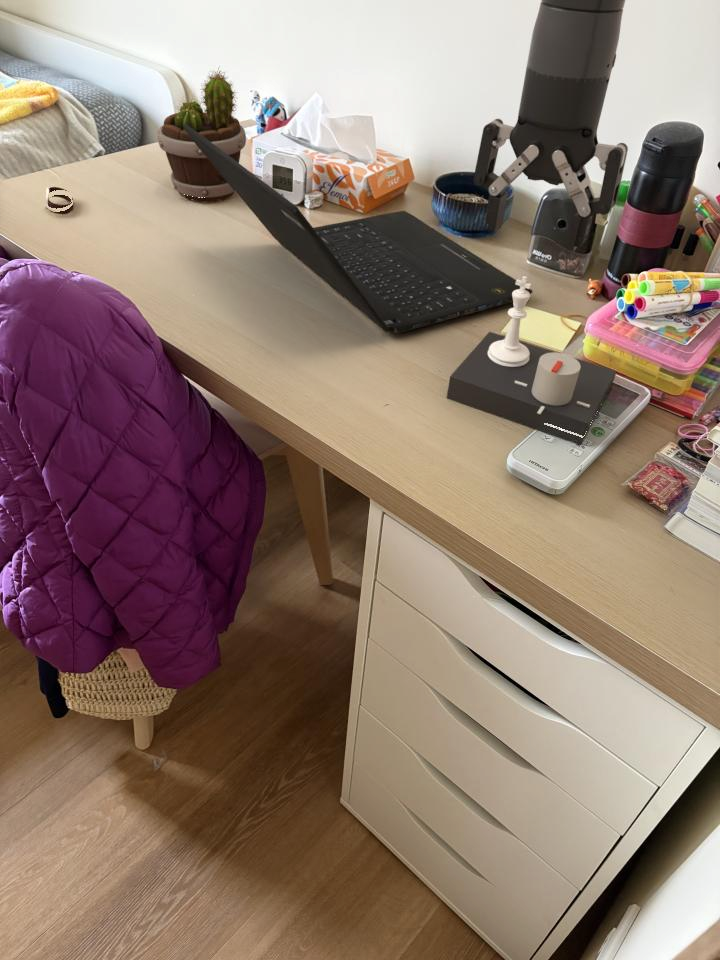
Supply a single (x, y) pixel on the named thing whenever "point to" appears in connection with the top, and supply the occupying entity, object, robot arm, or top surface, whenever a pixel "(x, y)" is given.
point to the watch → (57, 204)
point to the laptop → (375, 256)
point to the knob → (555, 378)
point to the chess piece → (513, 332)
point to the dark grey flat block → (529, 391)
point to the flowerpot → (216, 126)
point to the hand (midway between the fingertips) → (533, 238)
